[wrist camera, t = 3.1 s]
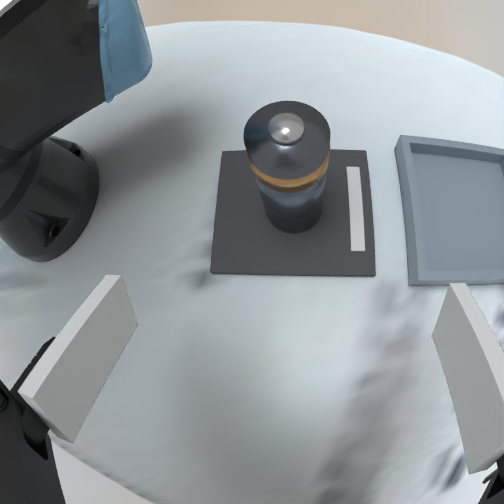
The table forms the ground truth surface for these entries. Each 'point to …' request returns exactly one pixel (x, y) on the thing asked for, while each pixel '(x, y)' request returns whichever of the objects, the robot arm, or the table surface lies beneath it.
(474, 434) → the robot arm
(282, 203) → the battery cell
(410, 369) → the table surface
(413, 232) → the tray
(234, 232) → the dark grey pad
